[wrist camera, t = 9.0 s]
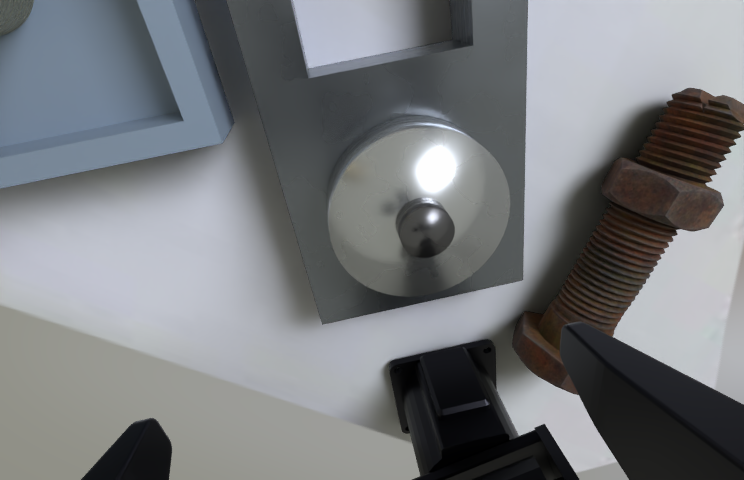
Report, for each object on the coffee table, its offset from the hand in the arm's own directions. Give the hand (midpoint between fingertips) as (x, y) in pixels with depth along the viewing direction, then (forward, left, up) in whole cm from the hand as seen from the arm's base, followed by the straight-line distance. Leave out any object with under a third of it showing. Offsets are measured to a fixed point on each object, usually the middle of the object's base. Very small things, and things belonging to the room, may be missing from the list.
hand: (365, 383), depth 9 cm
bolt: (-6, -14, -12) cm, 19 cm away
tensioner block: (+3, -3, -12) cm, 13 cm away
